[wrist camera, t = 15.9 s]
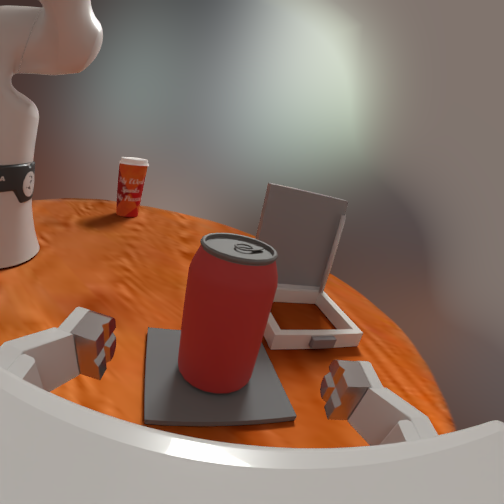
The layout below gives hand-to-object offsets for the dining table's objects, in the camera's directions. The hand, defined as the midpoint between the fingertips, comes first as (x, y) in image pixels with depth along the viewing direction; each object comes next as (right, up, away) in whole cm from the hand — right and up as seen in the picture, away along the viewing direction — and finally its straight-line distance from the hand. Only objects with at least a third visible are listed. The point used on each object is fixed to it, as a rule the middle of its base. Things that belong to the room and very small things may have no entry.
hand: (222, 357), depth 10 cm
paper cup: (-30, +13, +58) cm, 67 cm away
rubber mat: (-3, -7, +15) cm, 17 cm away
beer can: (-2, -7, +15) cm, 16 cm away
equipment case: (+7, -5, +28) cm, 29 cm away
